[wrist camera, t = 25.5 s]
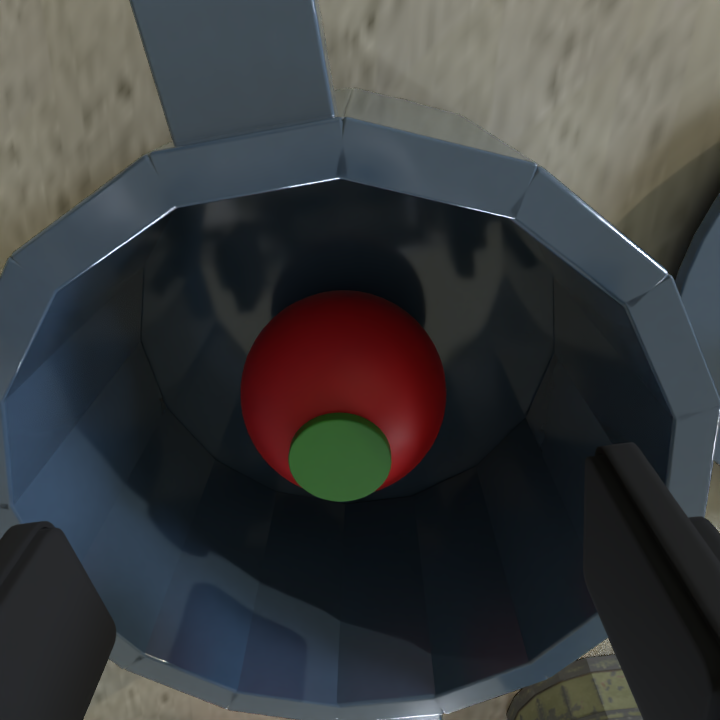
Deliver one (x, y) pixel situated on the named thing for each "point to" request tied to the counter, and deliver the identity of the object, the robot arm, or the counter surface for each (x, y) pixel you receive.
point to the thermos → (579, 694)
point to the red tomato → (343, 394)
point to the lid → (704, 292)
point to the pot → (243, 325)
